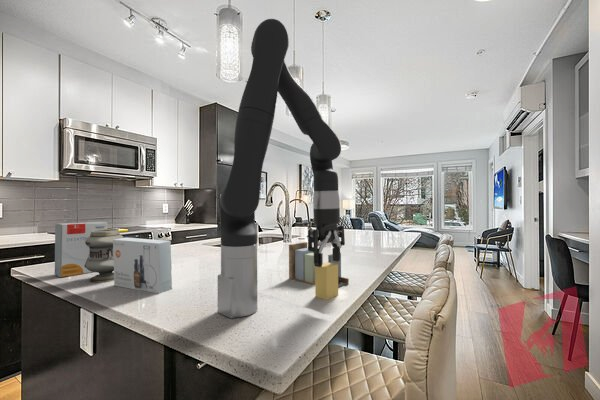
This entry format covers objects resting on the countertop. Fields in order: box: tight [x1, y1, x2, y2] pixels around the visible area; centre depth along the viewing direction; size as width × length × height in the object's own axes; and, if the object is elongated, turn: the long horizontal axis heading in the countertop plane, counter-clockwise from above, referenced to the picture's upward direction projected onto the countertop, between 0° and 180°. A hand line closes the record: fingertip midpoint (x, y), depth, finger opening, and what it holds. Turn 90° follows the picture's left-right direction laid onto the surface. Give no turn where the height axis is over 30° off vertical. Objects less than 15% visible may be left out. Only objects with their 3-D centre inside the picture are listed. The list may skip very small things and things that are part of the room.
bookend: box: [327, 252, 347, 289], centre depth 90 cm, size 6×3×10 cm, turn 137°
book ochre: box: [314, 262, 339, 301], centre depth 81 cm, size 6×4×10 cm
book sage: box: [304, 253, 324, 283], centre depth 97 cm, size 6×4×9 cm, turn 137°
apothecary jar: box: [85, 228, 125, 283], centre depth 104 cm, size 12×12×18 cm
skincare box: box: [113, 237, 173, 294], centre depth 93 cm, size 21×6×16 cm, turn 68°
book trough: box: [288, 241, 350, 289], centre depth 96 cm, size 8×19×13 cm, turn 47°
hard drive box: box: [54, 221, 108, 278], centre depth 114 cm, size 16×8×20 cm, turn 143°
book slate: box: [295, 247, 313, 281], centre depth 100 cm, size 6×4×10 cm
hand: (327, 263), depth 81 cm, fingers open, 8 cm apart
